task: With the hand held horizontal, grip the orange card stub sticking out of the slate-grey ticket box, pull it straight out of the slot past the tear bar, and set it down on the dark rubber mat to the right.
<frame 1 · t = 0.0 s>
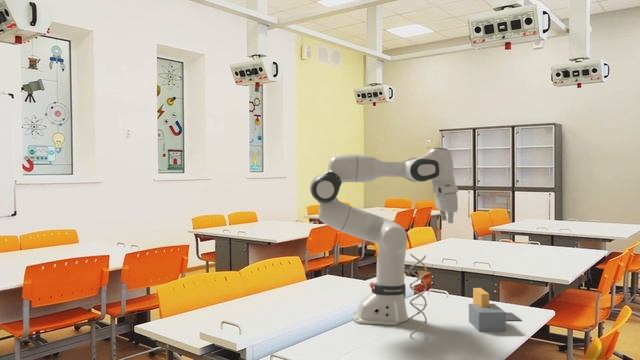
hand: (447, 221, 208), 39 cm above the table, tool pointing down, fingers open, 8 cm apart
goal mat: (504, 317, 209), on the table
dna model: (418, 338, 185), on the table
ticket box: (486, 326, 198), on the table
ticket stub: (480, 321, 205), resting in ticket box
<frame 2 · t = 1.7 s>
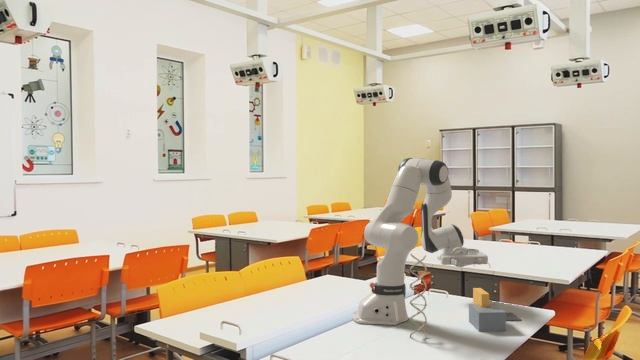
hand: (468, 262, 219), 20 cm above the table, tool horizontal, fingers open, 8 cm apart
nothing on the table moved.
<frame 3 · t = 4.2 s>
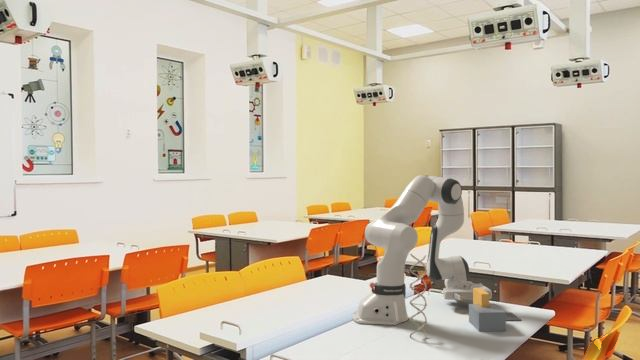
hand: (472, 298, 214), 6 cm above the table, tool horizontal, fingers open, 8 cm apart
nothing on the table moved.
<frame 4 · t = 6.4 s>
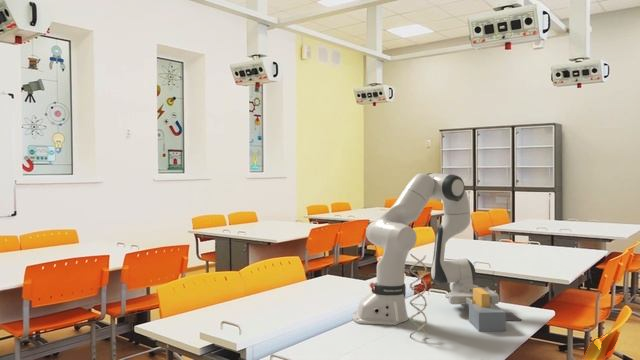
hand: (479, 303, 206), 7 cm above the table, tool horizontal, fingers closed on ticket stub, 3 cm apart
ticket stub: (480, 321, 204), resting in ticket box, touching gripper
everything else where it was.
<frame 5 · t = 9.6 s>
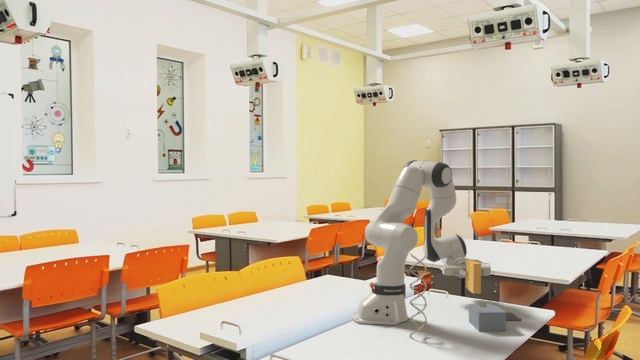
hand: (471, 273, 215), 16 cm above the table, tool horizontal, fingers closed on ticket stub, 3 cm apart
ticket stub: (472, 290, 213), point 10 cm above the table, touching gripper
everything else where it was.
when the fingers open (8 cm above the table, at t = 12.7 s): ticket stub drops 1 cm, resting on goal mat.
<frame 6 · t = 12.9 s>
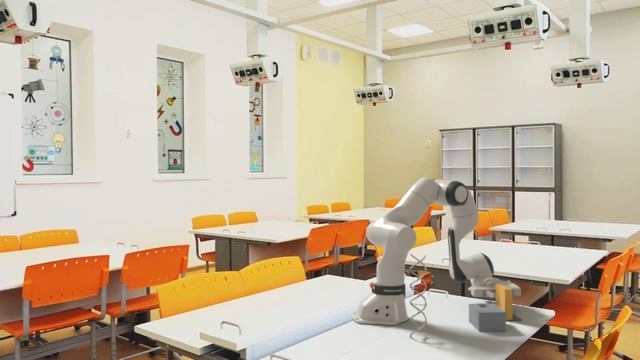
hand: (502, 295, 211), 8 cm above the table, tool horizontal, fingers open, 5 cm apart
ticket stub: (503, 316, 210), resting on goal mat
everything else where it was.
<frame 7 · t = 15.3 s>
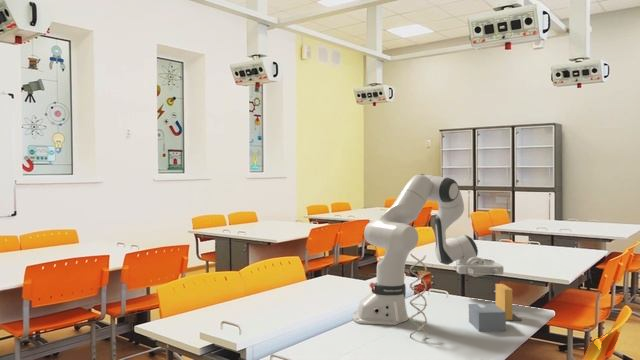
hand: (485, 272, 223), 15 cm above the table, tool horizontal, fingers open, 8 cm apart
nothing on the table moved.
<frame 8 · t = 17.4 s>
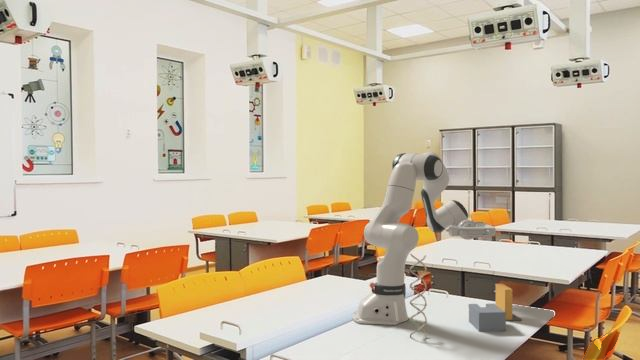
hand: (477, 233, 223), 32 cm above the table, tool horizontal, fingers open, 8 cm apart
nothing on the table moved.
at the end: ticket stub inside the target area (0.3 cm from its centre), resting on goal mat; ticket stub touching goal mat; the gripper is holding nothing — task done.
